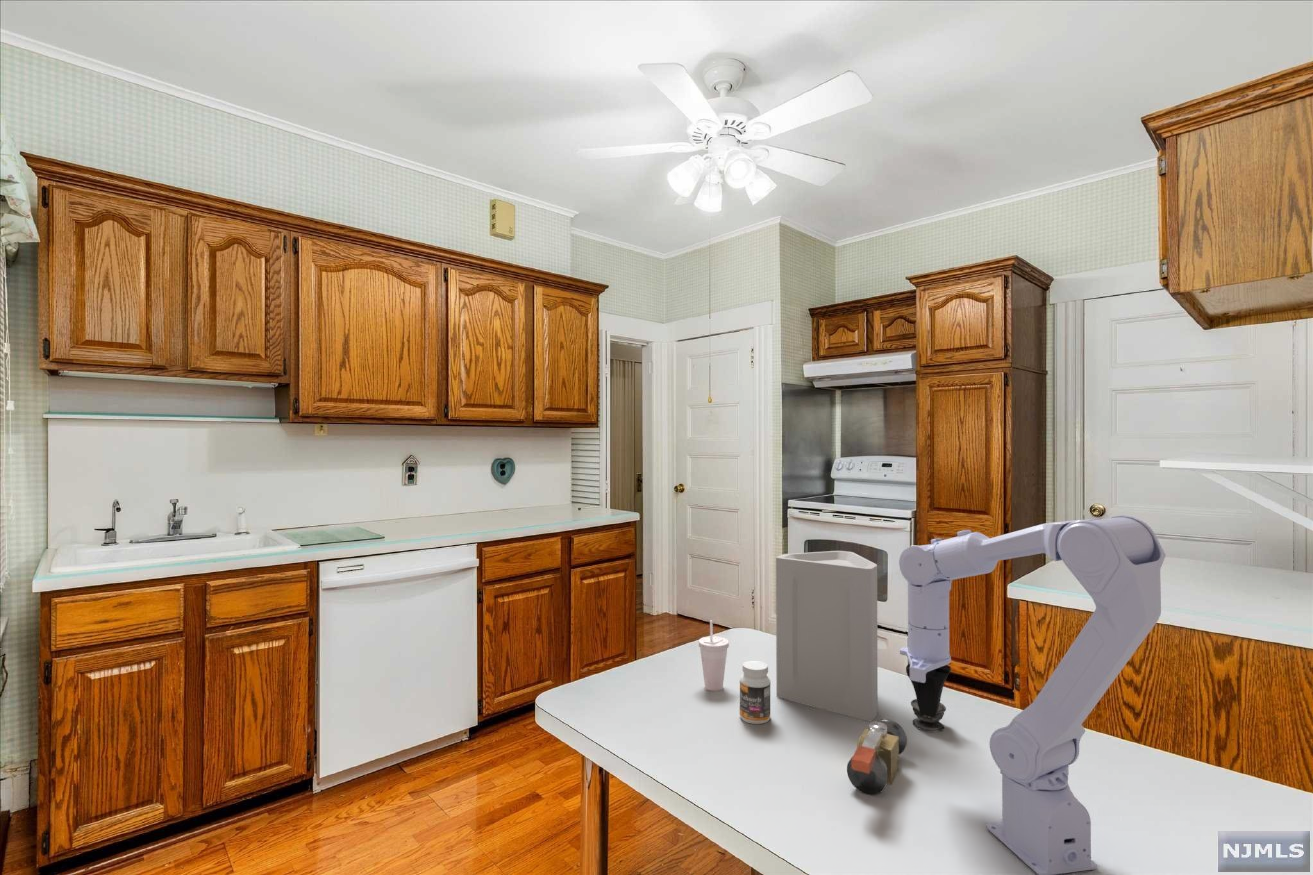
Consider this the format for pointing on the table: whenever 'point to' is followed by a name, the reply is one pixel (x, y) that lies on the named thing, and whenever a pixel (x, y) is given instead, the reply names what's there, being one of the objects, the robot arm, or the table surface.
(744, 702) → the pill bottle
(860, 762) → the valve lever
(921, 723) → the salt shaker
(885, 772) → the valve
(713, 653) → the smoothie
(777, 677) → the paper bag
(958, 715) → the table surface
